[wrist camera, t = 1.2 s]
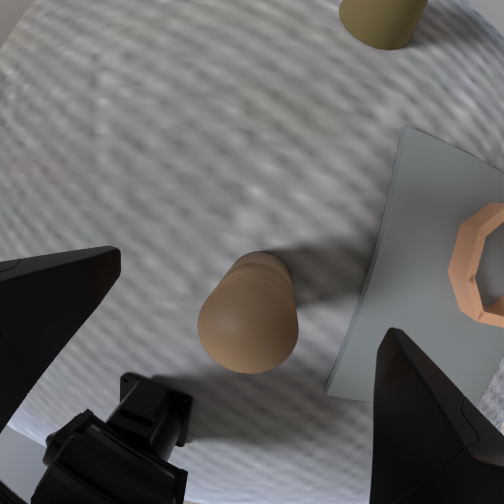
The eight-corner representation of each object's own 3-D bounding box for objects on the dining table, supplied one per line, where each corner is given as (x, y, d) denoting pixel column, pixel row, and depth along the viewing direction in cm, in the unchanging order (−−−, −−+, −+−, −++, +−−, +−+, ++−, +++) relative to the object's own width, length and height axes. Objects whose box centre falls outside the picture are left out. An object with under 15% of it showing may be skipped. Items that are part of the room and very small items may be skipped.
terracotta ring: (505, 321, 18) (521, 331, 16) (436, 304, 19) (452, 316, 16) (532, 225, 17) (550, 228, 15) (466, 191, 17) (486, 191, 15)
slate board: (470, 402, 21) (475, 408, 20) (324, 388, 22) (326, 395, 21) (540, 201, 17) (547, 201, 16) (401, 128, 18) (406, 125, 17)
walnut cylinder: (282, 320, 21) (282, 383, 13) (221, 304, 21) (190, 358, 13) (299, 260, 20) (311, 296, 12) (235, 244, 21) (208, 269, 13)
